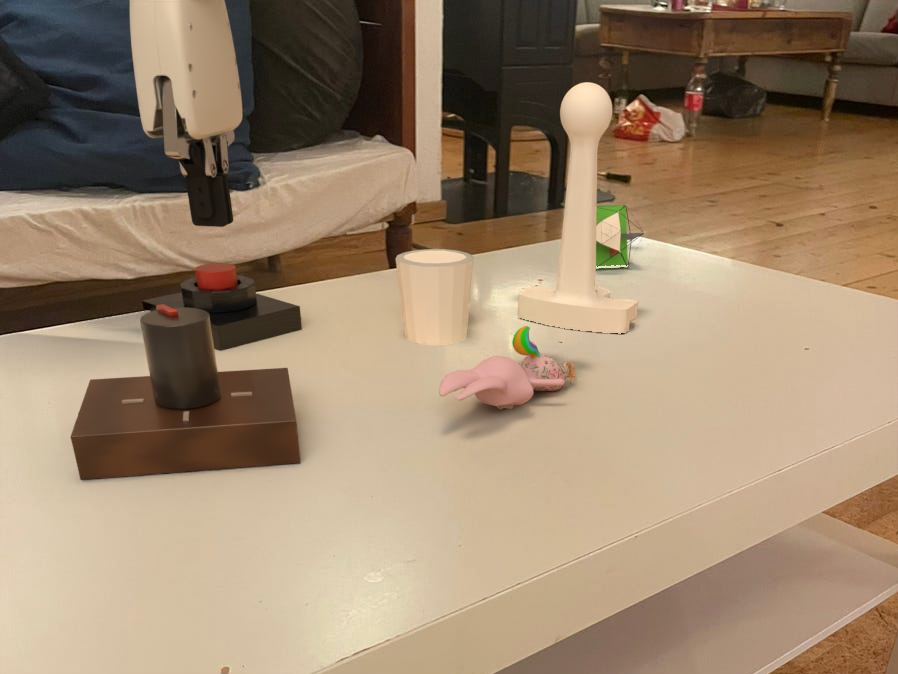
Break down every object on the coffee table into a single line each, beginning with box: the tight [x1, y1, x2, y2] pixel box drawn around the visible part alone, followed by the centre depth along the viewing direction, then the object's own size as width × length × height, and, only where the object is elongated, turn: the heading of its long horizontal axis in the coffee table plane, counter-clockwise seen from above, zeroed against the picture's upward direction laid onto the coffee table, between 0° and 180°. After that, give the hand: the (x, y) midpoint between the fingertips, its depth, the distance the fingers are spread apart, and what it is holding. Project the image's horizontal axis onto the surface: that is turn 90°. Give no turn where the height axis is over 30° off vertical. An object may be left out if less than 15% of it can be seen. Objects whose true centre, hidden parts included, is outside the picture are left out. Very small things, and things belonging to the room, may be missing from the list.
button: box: [194, 262, 238, 289], centre depth 90 cm, size 4×4×2 cm
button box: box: [141, 274, 303, 352], centre depth 91 cm, size 12×9×4 cm
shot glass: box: [395, 248, 475, 346], centre depth 88 cm, size 7×7×7 cm
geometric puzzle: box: [596, 204, 646, 267], centre depth 111 cm, size 7×7×8 cm
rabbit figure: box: [438, 325, 578, 411], centre depth 74 cm, size 6×6×15 cm
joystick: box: [517, 81, 639, 335], centre depth 90 cm, size 11×8×20 cm
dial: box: [139, 304, 221, 409], centre depth 66 cm, size 4×4×6 cm
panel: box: [70, 367, 301, 481], centre depth 68 cm, size 14×11×3 cm
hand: (213, 224), depth 87 cm, fingers closed
